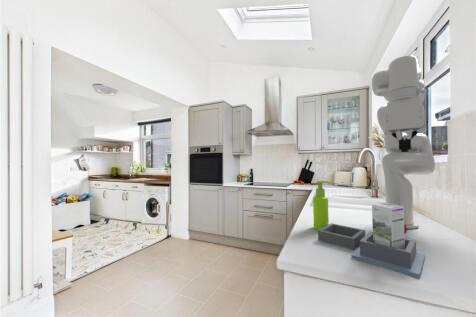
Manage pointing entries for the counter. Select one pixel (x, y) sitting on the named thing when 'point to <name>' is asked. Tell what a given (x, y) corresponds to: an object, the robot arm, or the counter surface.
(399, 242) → the syrup box
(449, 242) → the counter surface
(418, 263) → the frame
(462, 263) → the counter surface
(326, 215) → the soap dispenser
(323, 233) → the grey square tray
